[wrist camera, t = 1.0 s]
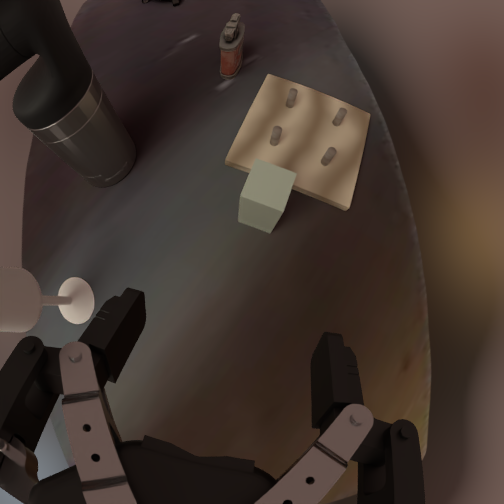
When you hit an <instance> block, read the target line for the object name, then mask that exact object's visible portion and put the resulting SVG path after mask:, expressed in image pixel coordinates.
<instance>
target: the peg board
mask: <svg viewBox="0 0 504 504" xmlns="http://www.w3.org/2000/svg"><path fill="white" fill-rule="evenodd" d="M369 120H370V114H369V113H367V112H365V111H363V110H361V109H358V108H356V107H354V106H352V105H350V104H347V103H345V102H343V101H341V100H338V99H336V98H333V97H331V96H329V95H326V94H324V93H321V92H319V91H316V90H314V89H311V88H308V87H306V86H303V85H300V84H297V83H294V82H291V81H289V80H286V79H283V78H279V77H276V76H273V75H270V74H268V75H267V77H266V79H265V81H264V83H263V84H262V86H261V88H260V90H259V92H258V94H257V96H256V98H255V100H254V102H253V104H252V106H251V108H250V110H249V112H248V114H247V116H246V118H245V120H244V122H243V124H242V126H241V128H240V130H239V132H238V134H237V136H236V138H235V140H234V142H233V145H232V147H231V149H230V151H229V153H228V155H227V157H226V159H225V165H227V166H230V167H233V168H236V169H239V170H242V171H244V172H247V173H250V171H251V168H252V166H253V164H254V161H255V159H256V158H257V159H259V160H262V161H265V162H268V163H271V164H273V165H276V166H279V167H281V168H284V169H287V170H289V171H292V172H294V173H297V175H296V178H295V181H294V183H293V186H292V189H293V190H296V191H298V192H301V193H303V194H306V195H308V196H311V197H313V198H316V199H318V200H320V201H323V202H325V203H328V204H330V205H332V206H335V207H337V208H339V209H342V210H344V211H346V210H348V209H349V208H350V204H351V200H352V196H353V192H354V188H355V184H356V180H357V176H358V172H359V167H360V163H361V158H362V154H363V149H364V145H365V140H366V135H367V130H368V125H369Z"/></svg>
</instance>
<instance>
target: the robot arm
mask: <svg viewBox="0 0 504 504" xmlns="http://www.w3.org/2000/svg"><path fill="white" fill-rule="evenodd" d="M35 54H38V55H40V56H39V58H38V59H37V61H36V62H35V63H34V65H33V66H32V67H31V68H30V70H29V71H28V72H27V73H26V75H25V76H24V77H23V79H22V81H21V82H20V84H19V86H18V88H17V90H16V92H15V95H14V99H13V111H14V114H15V116H16V117H17V118H18V120H19V121H20V122H21V123H22V124H23V125H25V126H26V127H27V128H28V129H29V130H30V131H31V132H32V133H33V134H34V135H35V136H36V137H37V138H39V139H40V140H41V141H42V142H43V143H44V144H45V145H46V146H48V147H49V148H50V149H51V150H52V151H53V152H54V153H55V154H56V155H58V156H59V157H60V158H61V159H62V160H63V161H64V162H65V163H67V164H68V165H69V166H70V167H71V168H72V169H73V170H75V171H76V172H77V173H78V174H79V175H80V176H81V177H83V178H84V179H85V180H86V181H87V182H88V183H90V184H91V185H93V186H96V187H108V186H111V185H114V184H116V183H117V182H119V181H120V180H122V179H123V178H124V177H125V176H126V175H127V174H128V172H129V171H130V170H131V168H132V166H133V164H134V161H135V158H136V148H135V145H134V142H133V141H132V139H131V137H130V135H129V134H128V132H127V130H126V129H125V127H124V125H123V123H122V122H121V120H120V118H119V117H118V115H117V113H116V111H115V110H114V108H113V106H112V105H111V103H110V101H109V99H108V98H107V96H106V94H105V92H104V90H103V89H102V87H101V85H100V83H99V82H98V80H97V78H96V76H95V75H94V73H93V71H92V69H91V67H90V65H89V63H88V62H87V60H86V58H85V56H84V54H83V52H82V50H81V48H80V46H79V44H78V42H77V40H76V38H75V36H74V34H73V32H72V30H71V28H70V26H69V23H68V21H67V19H66V16H65V13H64V11H63V8H62V6H61V3H60V0H0V80H2V79H3V78H4V77H5V76H7V75H8V74H9V73H11V72H12V71H13V70H15V69H16V68H17V67H18V66H20V65H21V64H23V63H24V62H25V61H27V60H28V59H30V58H31V57H32V56H34V55H35ZM145 322H146V309H145V295H144V292H142V291H139V290H135V289H131V288H127V289H126V290H125V291H124V292H123V294H122V295H121V296H120V297H118V296H114V297H112V298H111V299H109V300H108V301H106V302H105V304H104V305H103V306H102V308H101V309H100V311H99V312H98V313H97V314H96V317H94V319H93V320H92V321H91V323H90V324H89V326H88V327H87V329H86V330H85V331H84V333H83V334H82V336H81V337H80V339H79V340H78V341H77V342H70V343H68V344H66V345H65V346H64V347H63V348H54V347H46V346H44V345H43V342H42V341H41V339H39V338H38V337H35V336H28V337H25V338H23V339H22V340H21V341H20V342H19V343H18V344H17V346H16V347H15V349H14V350H13V352H12V353H11V355H10V356H9V358H8V359H7V361H6V363H5V364H4V366H3V367H2V369H1V371H0V487H1V488H2V489H3V490H5V491H6V492H8V493H9V494H10V495H12V496H13V497H15V498H16V499H18V500H19V501H21V502H22V503H24V504H318V503H319V502H320V501H321V499H322V498H323V497H324V496H325V495H326V494H327V492H328V491H329V490H330V489H331V488H332V486H333V485H334V484H335V483H336V481H337V480H338V479H339V478H340V476H341V475H342V474H343V473H344V471H345V470H346V468H347V466H348V464H347V463H348V461H349V460H353V461H356V462H358V498H357V504H425V494H424V480H423V470H422V460H421V452H420V444H419V437H418V432H417V429H416V427H415V426H414V424H413V423H411V422H410V421H408V420H404V419H401V420H397V421H396V422H394V423H393V424H390V423H386V422H383V421H380V420H377V419H375V418H373V415H372V413H371V412H370V410H369V409H368V408H366V407H365V406H364V403H363V396H362V390H361V384H360V377H359V372H358V368H357V360H356V356H355V354H354V353H353V351H352V350H351V348H350V347H345V346H344V343H343V337H342V335H341V334H337V333H330V332H324V333H323V335H322V337H321V339H320V341H319V343H318V345H317V347H316V349H315V351H314V353H313V356H312V359H311V398H312V428H316V429H320V436H319V437H318V438H317V439H316V440H315V441H314V442H313V443H312V444H311V446H310V447H309V448H308V449H307V450H306V451H305V452H304V453H303V454H302V455H301V456H300V457H299V458H298V459H297V460H296V461H295V462H294V463H293V464H292V465H291V466H290V467H289V468H288V469H287V470H286V471H285V472H284V473H283V474H282V475H281V476H280V477H279V478H278V479H276V480H275V479H274V478H273V477H272V476H271V475H270V474H268V473H266V472H265V471H263V470H261V469H259V468H257V467H254V463H255V461H253V460H246V459H240V458H234V457H228V456H224V457H198V456H195V455H193V454H191V453H189V452H187V451H185V450H183V449H181V448H179V447H177V446H175V445H173V444H172V443H169V442H165V441H162V440H159V439H155V438H152V437H149V436H146V435H145V436H144V439H143V441H142V440H132V441H125V442H122V439H121V437H120V434H119V432H118V430H117V427H116V425H115V422H114V419H113V416H112V412H111V409H110V406H109V402H108V399H107V395H106V392H105V388H104V386H105V384H106V382H107V380H108V381H110V382H113V383H116V381H117V379H118V377H119V375H120V373H121V371H122V369H123V367H124V365H125V363H126V361H127V359H128V357H129V355H130V353H131V351H132V350H133V348H134V346H135V344H136V342H137V340H138V338H139V336H140V334H141V333H142V331H143V329H144V326H145ZM60 394H63V395H64V399H62V408H63V413H64V418H65V423H66V428H67V432H68V437H69V441H70V445H71V449H72V452H73V456H74V460H75V463H76V465H74V466H72V467H69V468H67V469H65V470H63V471H61V472H59V473H56V474H54V475H52V476H49V477H47V478H45V479H42V480H40V481H39V480H38V477H37V472H38V460H37V458H36V456H35V454H34V451H35V449H36V446H37V444H38V441H39V439H40V437H41V434H42V432H43V430H44V427H45V425H46V423H47V420H48V418H49V416H50V414H51V412H52V410H53V408H54V405H55V403H56V401H57V399H58V397H59V395H60Z"/></svg>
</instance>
